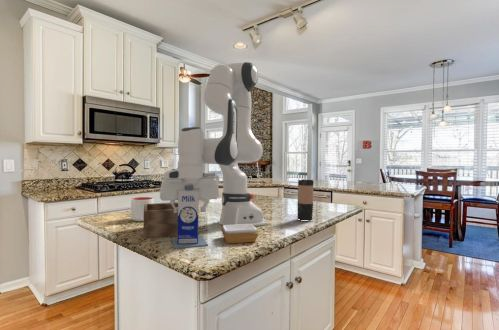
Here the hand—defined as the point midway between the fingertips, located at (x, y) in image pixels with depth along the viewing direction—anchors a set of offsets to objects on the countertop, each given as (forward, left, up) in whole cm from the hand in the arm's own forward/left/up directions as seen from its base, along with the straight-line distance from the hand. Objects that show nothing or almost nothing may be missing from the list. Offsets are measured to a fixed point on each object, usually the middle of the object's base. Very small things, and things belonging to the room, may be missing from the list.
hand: (189, 212), depth 99 cm
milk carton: (0, 0, -10) cm, 10 cm away
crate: (+7, -18, -11) cm, 22 cm away
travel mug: (-60, -22, -11) cm, 65 cm away
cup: (+16, -43, -11) cm, 47 cm away
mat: (0, 0, -11) cm, 11 cm away
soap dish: (-18, +2, -11) cm, 21 cm away
